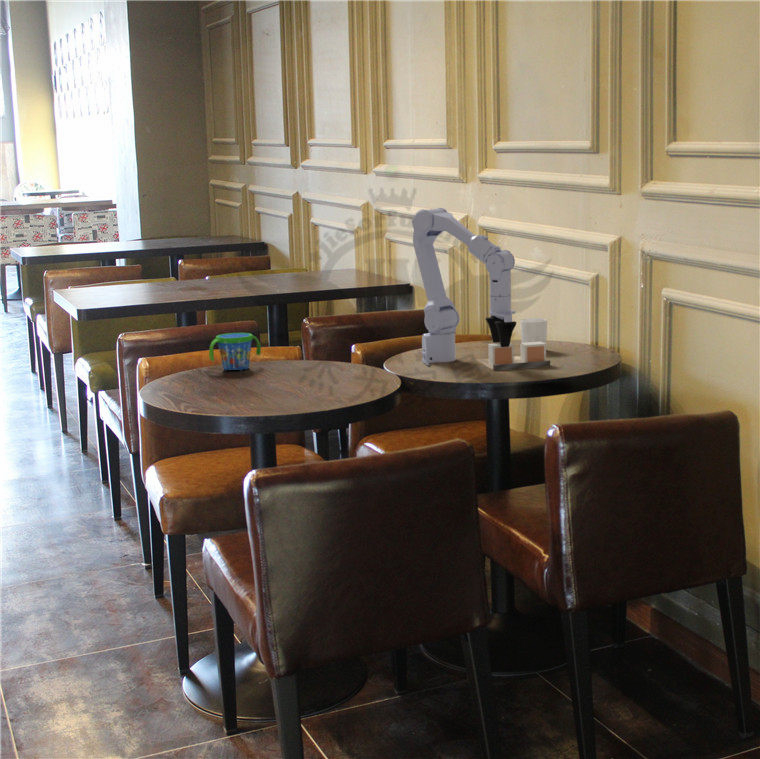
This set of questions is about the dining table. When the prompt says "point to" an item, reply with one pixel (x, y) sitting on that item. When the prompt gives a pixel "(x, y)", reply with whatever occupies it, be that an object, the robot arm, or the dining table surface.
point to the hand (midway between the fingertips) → (500, 344)
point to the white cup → (534, 330)
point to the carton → (500, 354)
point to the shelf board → (515, 364)
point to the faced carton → (533, 351)
